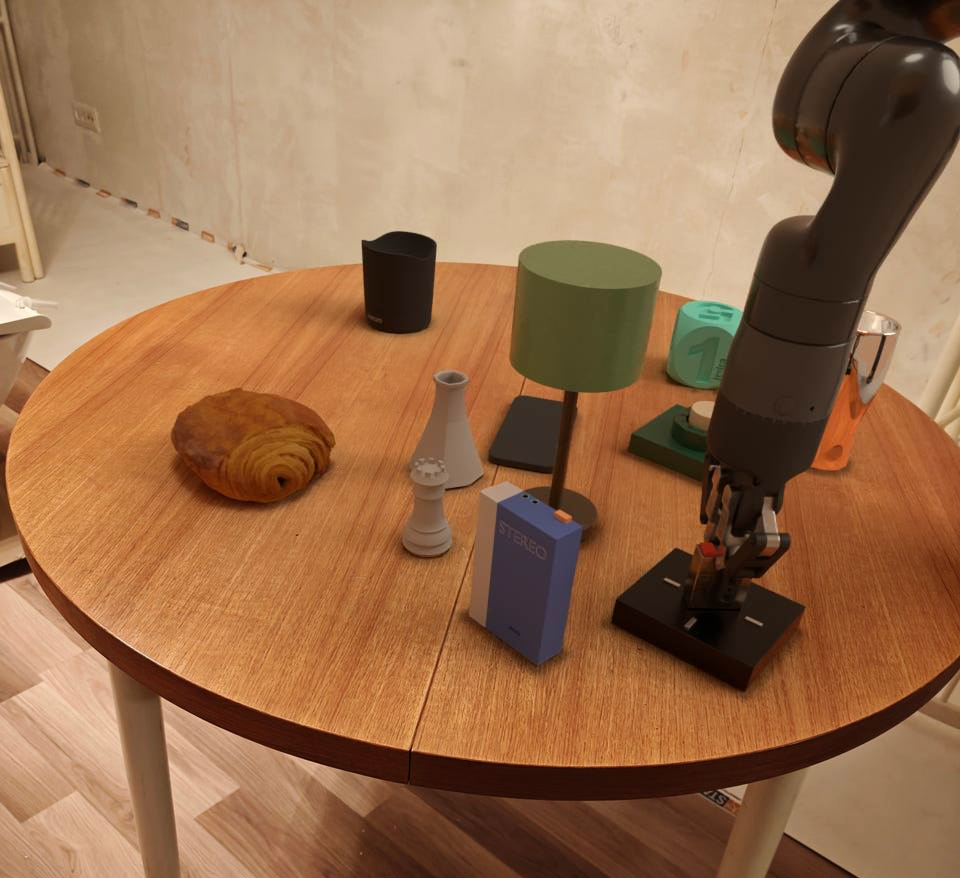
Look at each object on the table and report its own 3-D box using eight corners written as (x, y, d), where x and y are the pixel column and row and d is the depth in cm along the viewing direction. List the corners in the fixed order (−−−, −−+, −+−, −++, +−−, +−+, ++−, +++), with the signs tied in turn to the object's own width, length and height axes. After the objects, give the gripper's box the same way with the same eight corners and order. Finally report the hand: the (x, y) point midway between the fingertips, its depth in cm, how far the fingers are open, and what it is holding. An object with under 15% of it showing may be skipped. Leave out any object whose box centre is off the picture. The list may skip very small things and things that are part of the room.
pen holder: (359, 308, 120) (358, 230, 113) (428, 308, 121) (431, 231, 115) (365, 335, 113) (364, 254, 106) (438, 335, 115) (441, 255, 108)
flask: (395, 466, 88) (396, 371, 82) (451, 447, 92) (456, 354, 86) (439, 498, 84) (444, 401, 78) (497, 477, 88) (505, 382, 82)
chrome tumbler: (773, 452, 96) (817, 316, 87) (808, 435, 100) (853, 302, 90) (829, 480, 93) (881, 340, 83) (863, 461, 96) (917, 325, 87)
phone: (485, 455, 90) (515, 393, 101) (484, 463, 90) (515, 400, 101) (557, 468, 89) (579, 404, 100) (556, 476, 89) (578, 411, 100)
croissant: (217, 541, 80) (208, 470, 74) (157, 444, 88) (144, 374, 82) (359, 499, 87) (361, 430, 81) (291, 412, 94) (289, 344, 89)
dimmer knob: (735, 595, 72) (753, 542, 68) (742, 609, 70) (760, 555, 67) (681, 594, 71) (696, 541, 68) (687, 608, 70) (702, 554, 66)
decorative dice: (665, 384, 108) (680, 319, 103) (666, 359, 114) (680, 296, 109) (731, 394, 107) (749, 329, 102) (729, 367, 113) (745, 305, 108)
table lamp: (632, 521, 84) (688, 266, 68) (568, 571, 77) (613, 300, 62) (538, 479, 89) (570, 231, 73) (470, 522, 82) (489, 259, 66)
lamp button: (732, 425, 93) (737, 409, 92) (715, 437, 90) (719, 422, 89) (699, 412, 94) (702, 397, 93) (681, 424, 92) (684, 408, 91)
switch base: (770, 459, 95) (781, 425, 93) (729, 493, 89) (739, 458, 86) (672, 421, 100) (680, 388, 98) (627, 451, 94) (634, 417, 92)
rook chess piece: (394, 552, 77) (394, 472, 72) (412, 526, 81) (414, 447, 75) (442, 564, 76) (446, 483, 71) (458, 537, 80) (463, 458, 75)
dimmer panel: (796, 630, 73) (807, 604, 71) (744, 692, 67) (754, 666, 65) (669, 570, 78) (676, 545, 76) (610, 623, 72) (615, 597, 70)
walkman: (561, 651, 69) (584, 521, 61) (537, 666, 67) (557, 535, 59) (492, 602, 73) (505, 474, 65) (467, 615, 71) (478, 486, 64)
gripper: (872, 443, 54) (787, 652, 66) (796, 350, 64) (734, 545, 76) (754, 439, 53) (689, 652, 65) (696, 346, 64) (648, 543, 75)
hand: (713, 593), depth 70 cm, fingers closed on dimmer knob, 2 cm apart
